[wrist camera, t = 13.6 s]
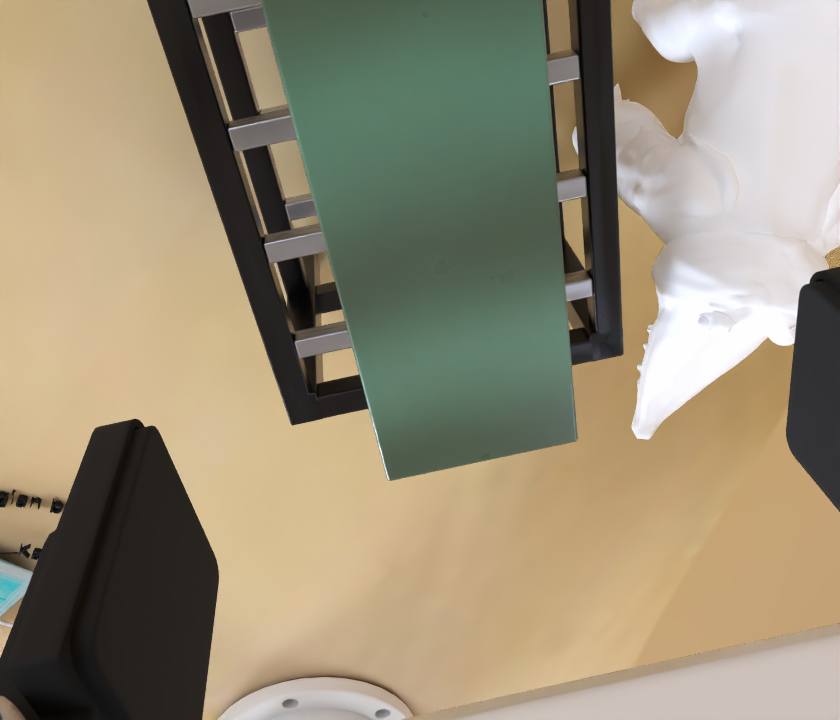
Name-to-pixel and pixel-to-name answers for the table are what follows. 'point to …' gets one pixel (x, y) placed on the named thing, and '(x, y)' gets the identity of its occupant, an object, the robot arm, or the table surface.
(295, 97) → the teal sanding sponge
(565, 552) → the table surface
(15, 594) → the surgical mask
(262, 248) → the rack
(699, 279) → the dinosaur statue
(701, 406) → the table surface
